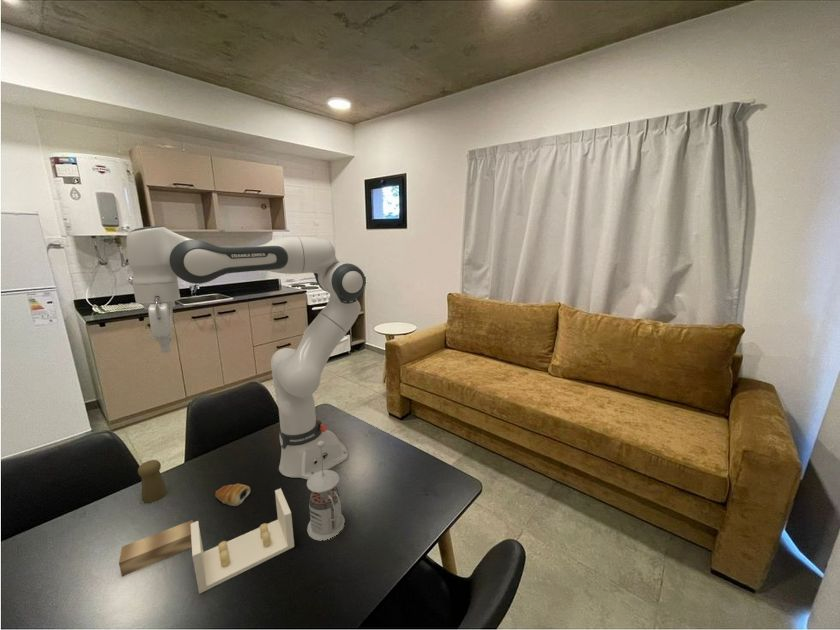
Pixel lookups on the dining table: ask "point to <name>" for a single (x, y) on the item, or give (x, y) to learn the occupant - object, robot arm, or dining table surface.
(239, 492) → the pastry
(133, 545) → the shelf board
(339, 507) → the french press
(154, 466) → the cork
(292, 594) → the dining table surface
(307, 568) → the dining table surface
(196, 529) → the peg frame
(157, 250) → the robot arm
